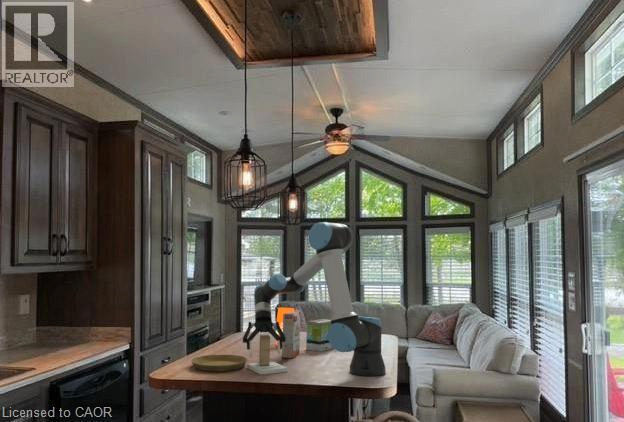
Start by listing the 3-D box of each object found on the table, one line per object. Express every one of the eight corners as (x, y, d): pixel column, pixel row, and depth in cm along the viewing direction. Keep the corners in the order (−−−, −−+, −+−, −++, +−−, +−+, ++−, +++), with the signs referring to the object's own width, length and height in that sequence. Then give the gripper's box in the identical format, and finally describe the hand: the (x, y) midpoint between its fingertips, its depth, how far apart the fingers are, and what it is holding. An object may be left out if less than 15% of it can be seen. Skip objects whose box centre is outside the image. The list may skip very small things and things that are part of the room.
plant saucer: (211, 359, 230) (212, 352, 230) (257, 364, 221) (257, 356, 221) (179, 370, 208) (179, 362, 208) (228, 376, 199) (228, 367, 199)
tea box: (321, 352, 250) (321, 322, 251) (305, 349, 256) (306, 320, 257) (337, 347, 262) (338, 319, 263) (322, 345, 268) (322, 318, 269)
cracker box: (293, 358, 232) (294, 314, 234) (281, 358, 233) (282, 313, 235) (300, 353, 246) (301, 311, 248) (288, 352, 247) (289, 310, 249)
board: (287, 371, 206) (287, 367, 206) (260, 374, 200) (261, 370, 200) (272, 365, 218) (272, 361, 218) (247, 367, 212) (247, 363, 212)
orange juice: (291, 346, 265) (292, 308, 266) (275, 345, 266) (276, 308, 268) (294, 343, 272) (295, 307, 274) (279, 343, 274) (279, 306, 276)
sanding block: (259, 362, 214) (259, 335, 216) (268, 362, 215) (268, 334, 216) (260, 366, 209) (260, 337, 210) (269, 365, 209) (270, 337, 210)
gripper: (288, 319, 231) (291, 359, 214) (236, 319, 226) (236, 360, 210) (289, 309, 226) (293, 349, 209) (237, 309, 222) (237, 350, 205)
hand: (265, 355), depth 210 cm, fingers open, 11 cm apart
